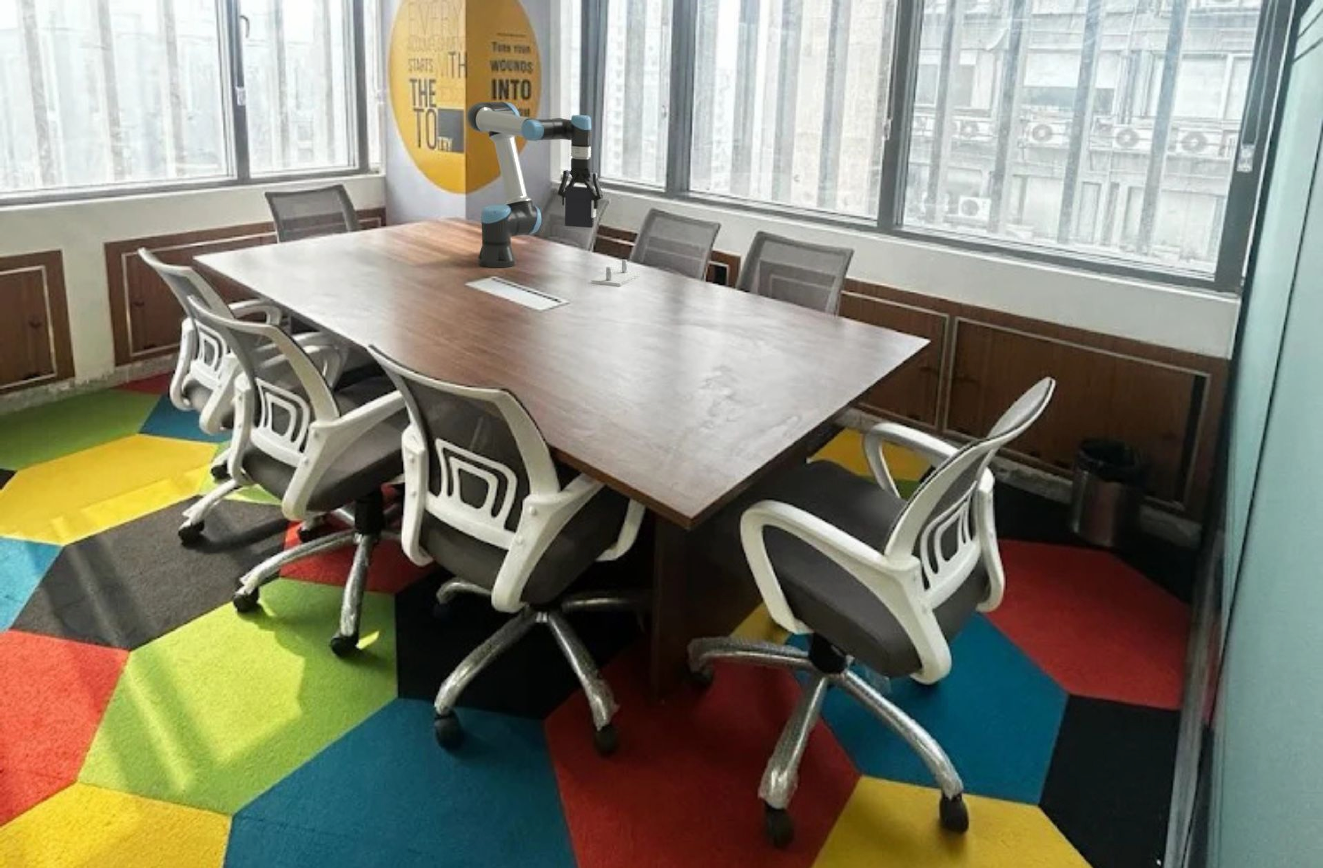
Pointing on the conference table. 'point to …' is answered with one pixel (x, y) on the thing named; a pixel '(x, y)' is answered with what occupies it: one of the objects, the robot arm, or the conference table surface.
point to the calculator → (578, 207)
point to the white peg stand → (616, 276)
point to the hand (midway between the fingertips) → (579, 215)
